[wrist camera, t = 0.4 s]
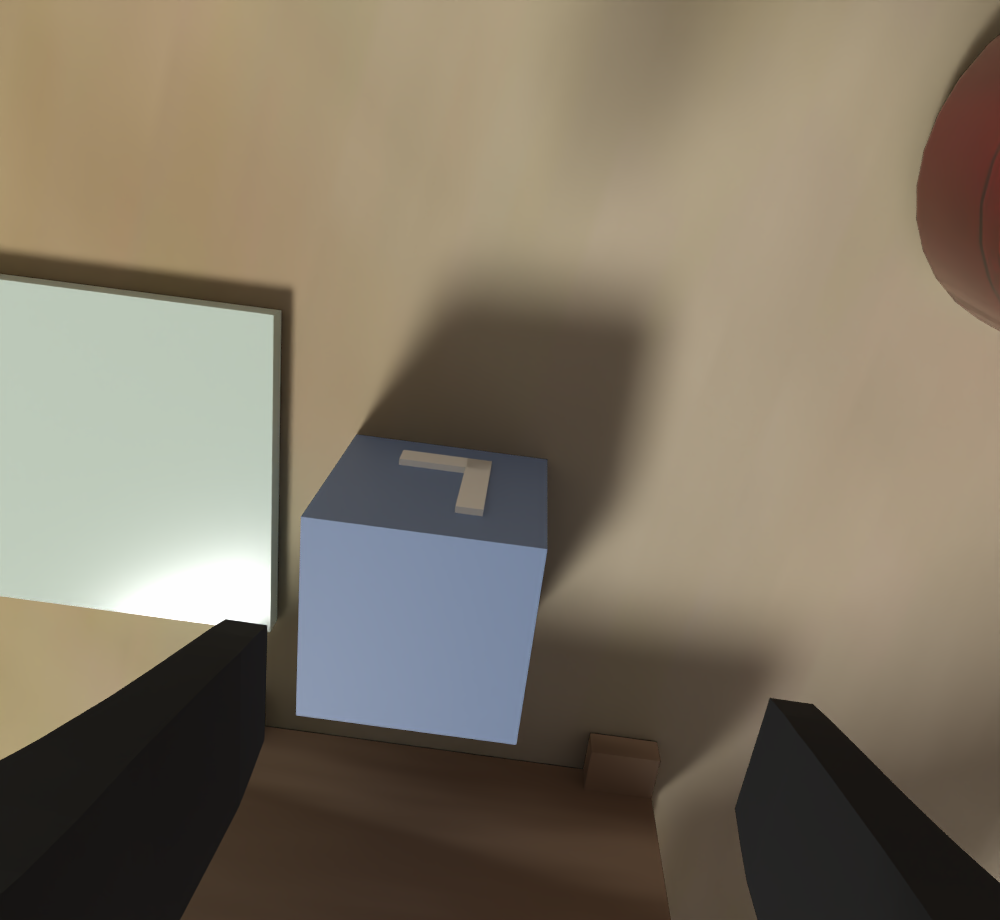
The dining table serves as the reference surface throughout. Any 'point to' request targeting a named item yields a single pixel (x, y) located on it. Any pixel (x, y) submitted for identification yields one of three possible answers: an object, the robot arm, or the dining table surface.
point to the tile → (139, 452)
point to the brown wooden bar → (437, 835)
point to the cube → (421, 588)
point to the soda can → (965, 190)
